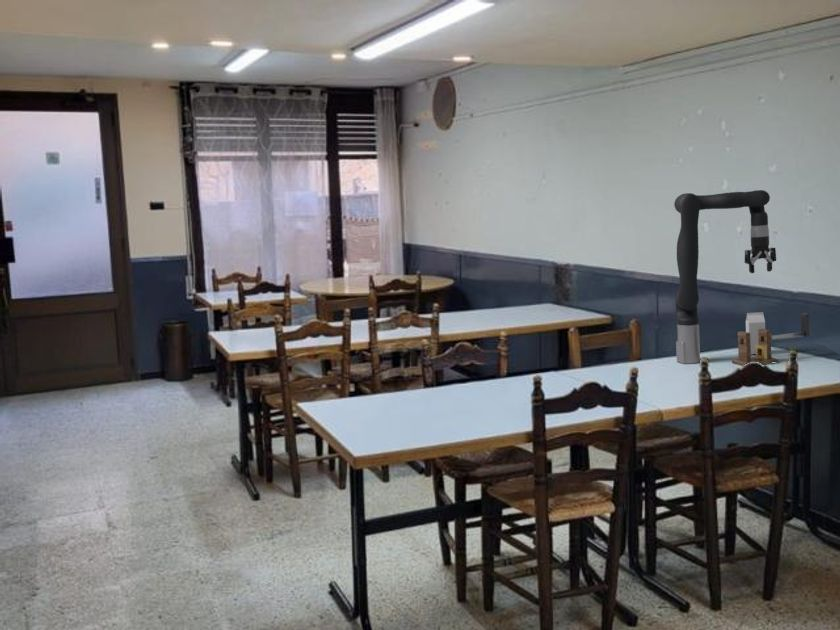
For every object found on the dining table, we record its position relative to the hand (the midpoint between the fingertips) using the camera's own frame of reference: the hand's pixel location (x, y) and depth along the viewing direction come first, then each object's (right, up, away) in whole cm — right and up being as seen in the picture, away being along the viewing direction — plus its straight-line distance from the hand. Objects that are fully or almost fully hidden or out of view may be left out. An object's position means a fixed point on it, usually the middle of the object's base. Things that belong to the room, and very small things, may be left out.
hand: (760, 272), depth 373 cm
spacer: (-3, -38, -7) cm, 39 cm away
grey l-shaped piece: (+9, -29, -5) cm, 31 cm away
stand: (-6, -40, -7) cm, 41 cm away
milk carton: (+3, -37, +13) cm, 39 cm away
